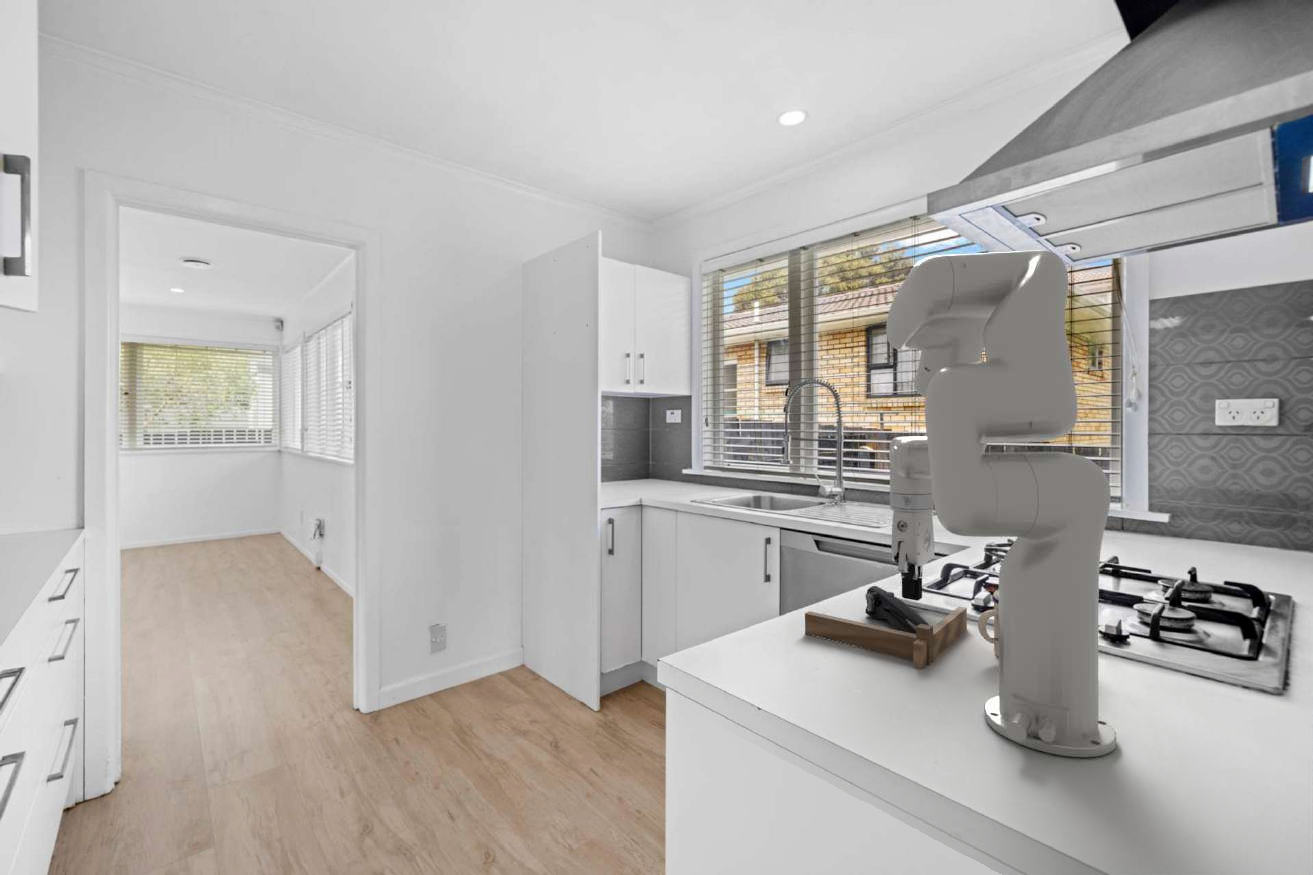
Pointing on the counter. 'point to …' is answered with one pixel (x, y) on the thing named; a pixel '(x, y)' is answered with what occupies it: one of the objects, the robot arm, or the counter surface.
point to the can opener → (891, 610)
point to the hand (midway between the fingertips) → (912, 598)
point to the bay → (891, 635)
